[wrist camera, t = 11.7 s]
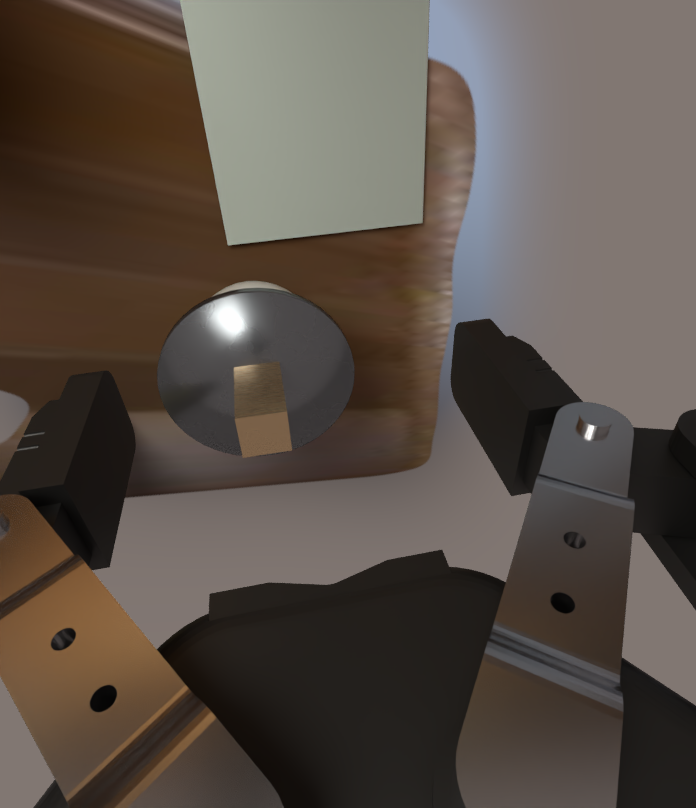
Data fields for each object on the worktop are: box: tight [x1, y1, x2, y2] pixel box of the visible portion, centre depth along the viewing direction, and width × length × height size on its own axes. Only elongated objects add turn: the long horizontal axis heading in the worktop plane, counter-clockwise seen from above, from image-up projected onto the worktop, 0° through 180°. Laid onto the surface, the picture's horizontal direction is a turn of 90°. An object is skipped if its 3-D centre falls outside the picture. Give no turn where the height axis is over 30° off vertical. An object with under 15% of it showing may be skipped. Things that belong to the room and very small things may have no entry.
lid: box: [157, 288, 354, 458], centre depth 35 cm, size 14×14×7 cm
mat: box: [180, 0, 430, 245], centre depth 37 cm, size 16×16×1 cm
